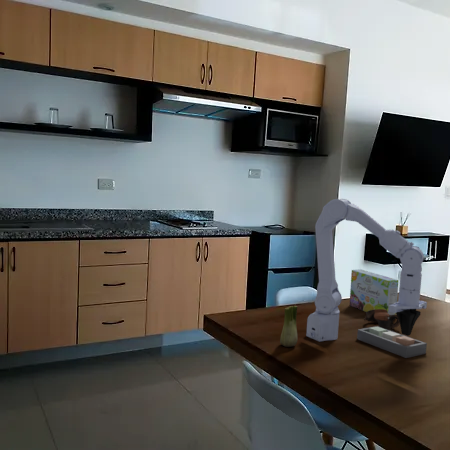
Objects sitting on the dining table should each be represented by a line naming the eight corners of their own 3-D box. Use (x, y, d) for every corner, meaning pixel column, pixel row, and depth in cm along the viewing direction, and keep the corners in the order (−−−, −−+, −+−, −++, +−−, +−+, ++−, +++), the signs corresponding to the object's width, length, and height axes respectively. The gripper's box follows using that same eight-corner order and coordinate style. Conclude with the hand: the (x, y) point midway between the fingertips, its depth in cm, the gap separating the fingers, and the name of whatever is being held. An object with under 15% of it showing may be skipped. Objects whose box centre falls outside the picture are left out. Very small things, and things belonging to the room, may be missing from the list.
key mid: (391, 343, 145) (392, 336, 145) (381, 340, 148) (382, 332, 148) (399, 342, 147) (400, 334, 147) (389, 338, 150) (390, 331, 150)
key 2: (405, 349, 141) (406, 341, 141) (395, 345, 144) (396, 337, 144) (413, 347, 143) (414, 339, 142) (403, 343, 146) (404, 335, 145)
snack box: (347, 305, 200) (350, 269, 198) (358, 305, 202) (361, 269, 201) (385, 320, 181) (388, 279, 179) (396, 319, 183) (400, 279, 182)
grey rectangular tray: (405, 361, 138) (406, 347, 137) (356, 342, 153) (357, 329, 152) (425, 356, 142) (426, 343, 142) (376, 338, 158) (377, 326, 157)
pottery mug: (364, 333, 164) (361, 309, 168) (368, 339, 172) (365, 316, 175) (402, 330, 160) (398, 305, 163) (404, 335, 168) (400, 312, 171)
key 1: (378, 338, 149) (378, 331, 149) (368, 335, 152) (369, 327, 152) (385, 337, 151) (386, 329, 151) (376, 334, 154) (377, 326, 154)
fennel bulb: (293, 342, 149) (295, 303, 148) (301, 348, 144) (304, 308, 143) (276, 343, 147) (278, 304, 146) (283, 349, 142) (286, 308, 141)
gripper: (405, 293, 134) (401, 341, 136) (437, 289, 142) (433, 335, 143) (384, 288, 140) (380, 334, 141) (416, 284, 148) (412, 328, 149)
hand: (405, 334), depth 143 cm, fingers closed
